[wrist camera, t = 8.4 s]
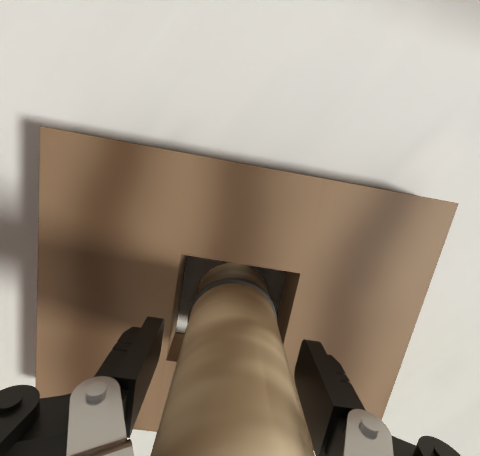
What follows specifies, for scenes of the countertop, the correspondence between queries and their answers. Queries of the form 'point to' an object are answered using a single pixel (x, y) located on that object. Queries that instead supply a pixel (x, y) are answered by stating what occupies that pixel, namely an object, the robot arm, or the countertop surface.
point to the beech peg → (232, 376)
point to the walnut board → (222, 258)
